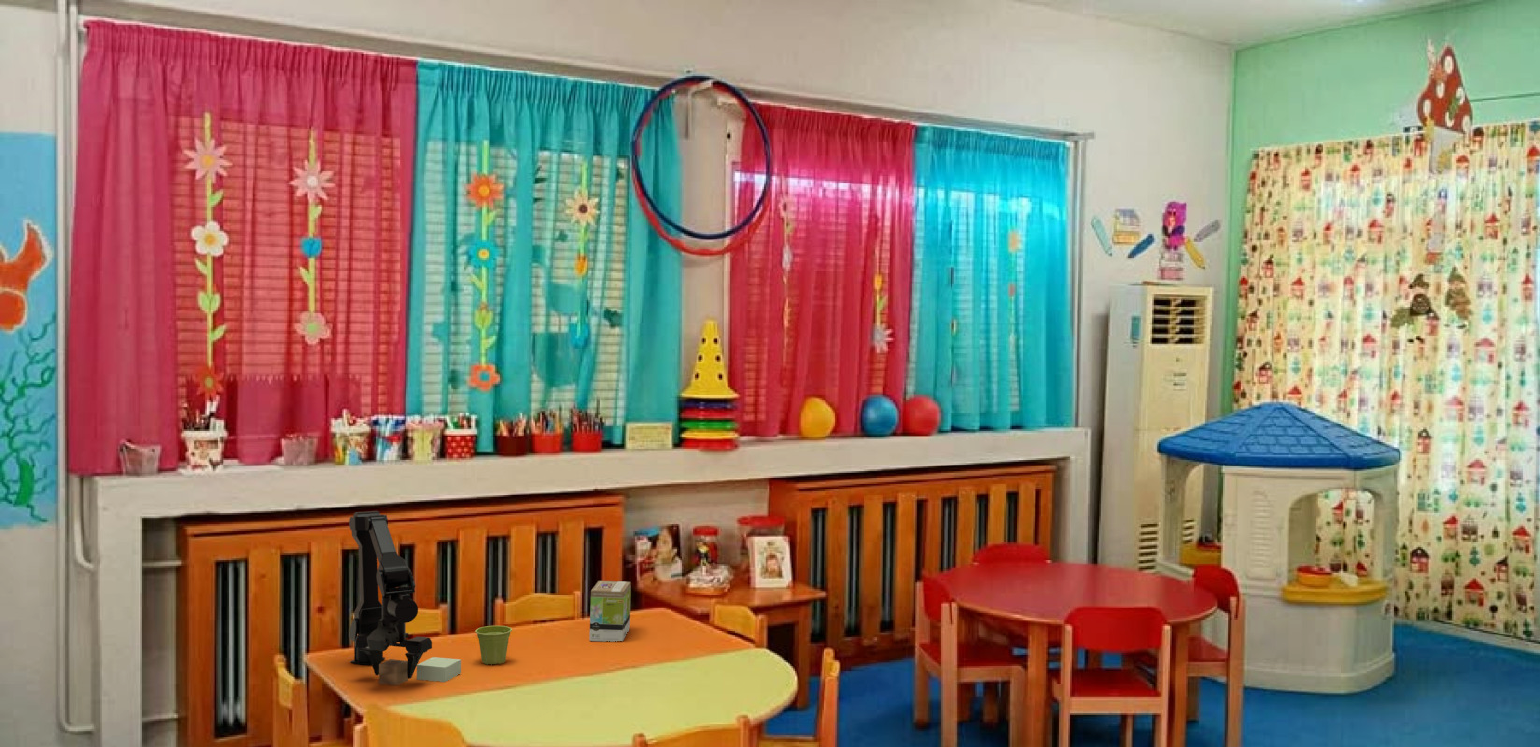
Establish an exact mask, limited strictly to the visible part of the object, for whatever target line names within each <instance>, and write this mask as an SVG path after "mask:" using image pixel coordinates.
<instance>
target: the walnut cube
mask: <svg viewBox="0 0 1540 747" xmlns="http://www.w3.org/2000/svg"><path fill="white" fill-rule="evenodd" d="M407 662H408V660H401V659H394V658H392V659H391V658H390V659H388V660H384V661H383V662H381V663H380V664H379V675H378V684H379V685H386V684H388V686H395V685H396V687H397V686H399V685H401V684H403V683H405V682H408V681H409V679H408V675H407Z"/></svg>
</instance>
